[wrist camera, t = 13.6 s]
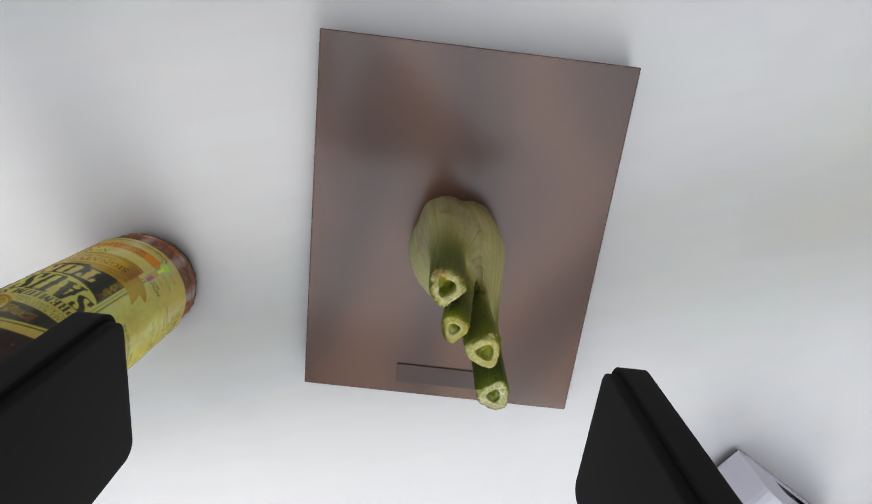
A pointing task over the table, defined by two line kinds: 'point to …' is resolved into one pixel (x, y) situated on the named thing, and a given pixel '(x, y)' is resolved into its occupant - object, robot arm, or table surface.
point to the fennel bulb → (465, 284)
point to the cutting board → (468, 181)
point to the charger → (756, 482)
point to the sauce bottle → (103, 293)
